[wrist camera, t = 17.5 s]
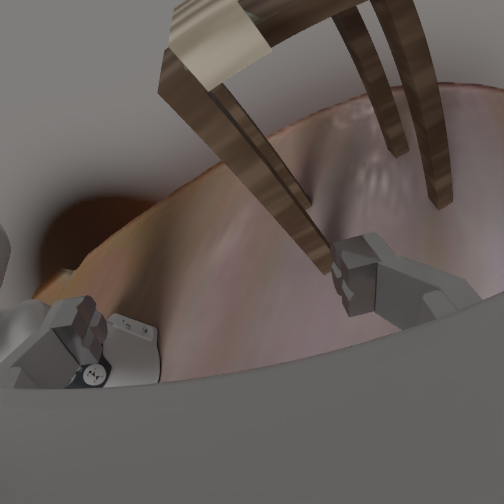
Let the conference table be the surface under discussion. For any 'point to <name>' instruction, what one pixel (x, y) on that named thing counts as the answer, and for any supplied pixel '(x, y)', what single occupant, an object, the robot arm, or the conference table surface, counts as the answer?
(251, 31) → the bar
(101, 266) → the conference table surface
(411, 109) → the stand
